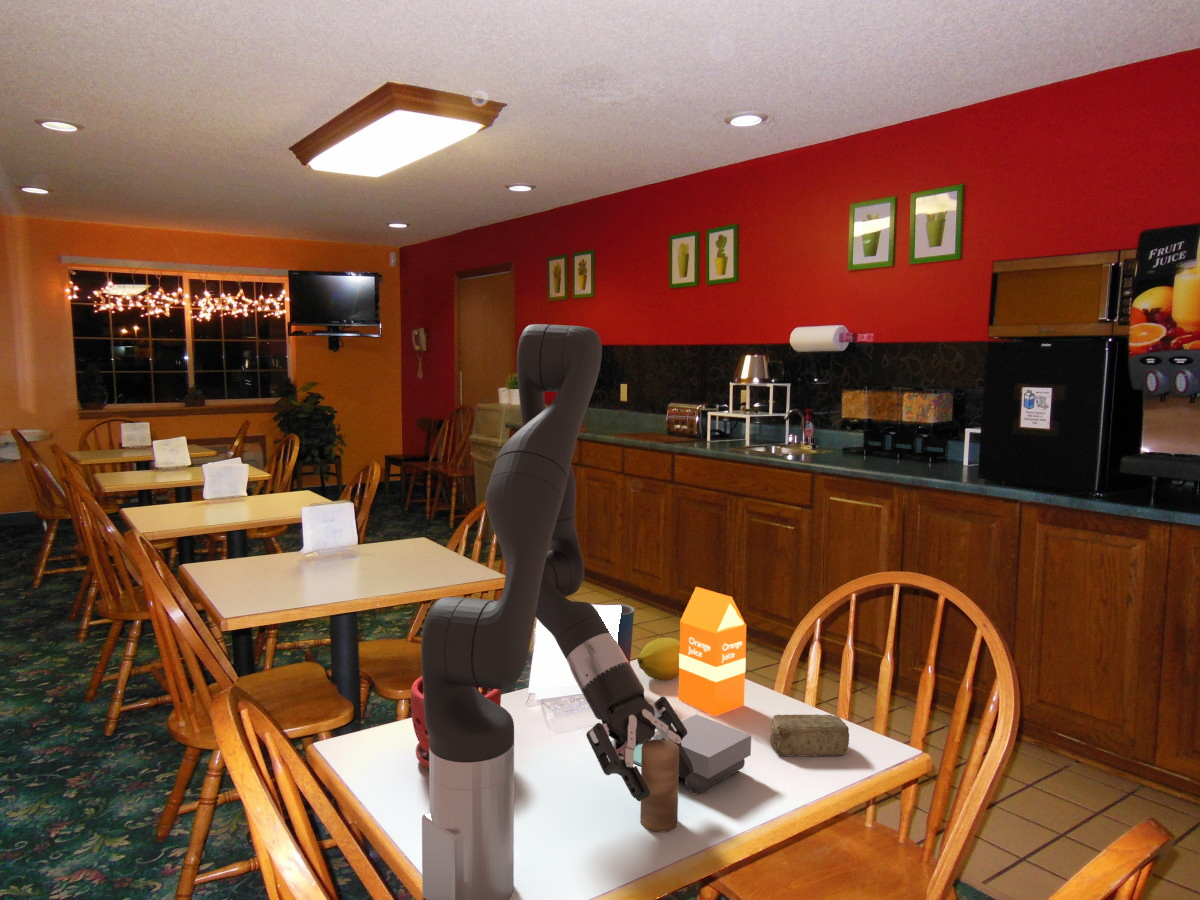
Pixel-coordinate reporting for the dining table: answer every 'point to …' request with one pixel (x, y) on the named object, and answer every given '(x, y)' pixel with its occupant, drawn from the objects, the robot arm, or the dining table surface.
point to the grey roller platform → (712, 751)
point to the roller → (660, 785)
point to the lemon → (661, 659)
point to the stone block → (809, 735)
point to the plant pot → (419, 717)
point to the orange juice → (712, 653)
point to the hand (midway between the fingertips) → (667, 786)
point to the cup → (625, 630)
